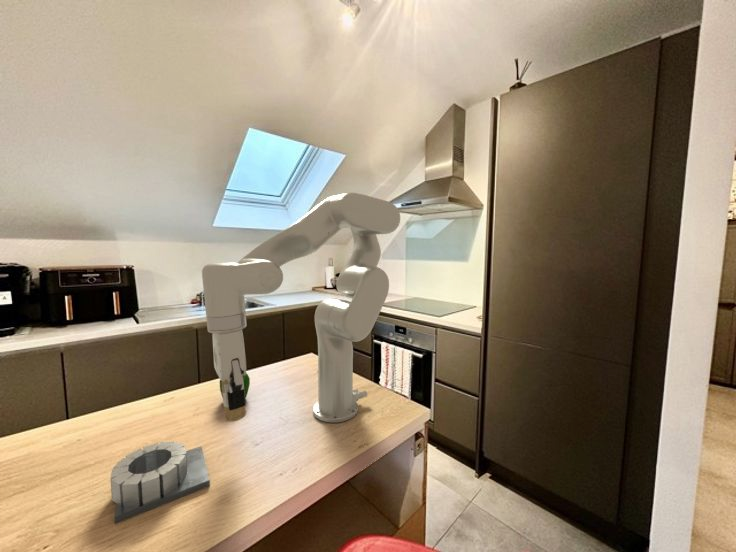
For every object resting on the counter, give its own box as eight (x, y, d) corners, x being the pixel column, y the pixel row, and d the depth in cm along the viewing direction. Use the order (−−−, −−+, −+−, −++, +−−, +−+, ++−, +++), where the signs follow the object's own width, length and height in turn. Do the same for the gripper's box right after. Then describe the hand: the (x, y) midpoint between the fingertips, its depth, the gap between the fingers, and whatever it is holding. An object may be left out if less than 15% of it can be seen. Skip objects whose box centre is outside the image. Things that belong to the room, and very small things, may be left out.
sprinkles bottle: (227, 411, 68) (222, 354, 67) (249, 409, 69) (244, 353, 67) (221, 424, 64) (215, 363, 62) (244, 421, 65) (238, 361, 63)
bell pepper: (238, 391, 96) (237, 360, 95) (255, 398, 92) (254, 366, 91) (212, 402, 89) (211, 369, 88) (230, 410, 85) (229, 376, 84)
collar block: (201, 451, 68) (200, 429, 67) (209, 485, 58) (208, 460, 57) (116, 479, 59) (114, 454, 59) (109, 525, 49) (107, 496, 49)
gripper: (201, 316, 69) (209, 392, 71) (214, 334, 55) (223, 428, 57) (236, 311, 73) (243, 383, 75) (256, 326, 59) (263, 414, 62)
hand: (234, 401), depth 66 cm, fingers closed on sprinkles bottle, 4 cm apart
